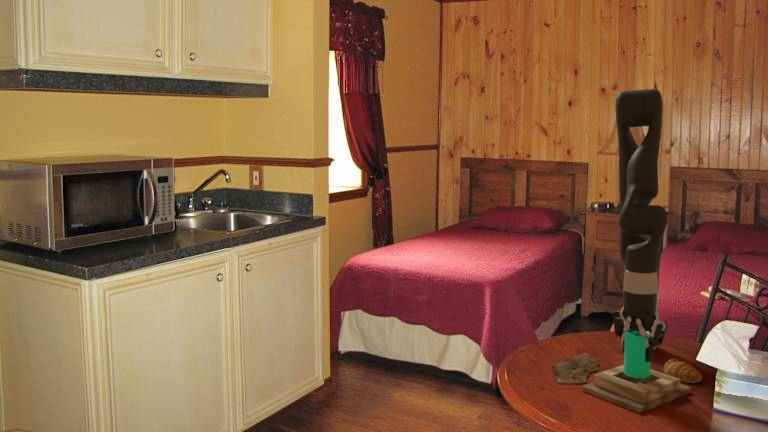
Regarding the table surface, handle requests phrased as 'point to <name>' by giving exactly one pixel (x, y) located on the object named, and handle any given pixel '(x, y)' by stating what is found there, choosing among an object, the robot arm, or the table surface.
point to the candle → (635, 355)
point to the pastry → (682, 371)
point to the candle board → (630, 401)
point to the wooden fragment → (575, 369)
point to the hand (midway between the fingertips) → (637, 358)
